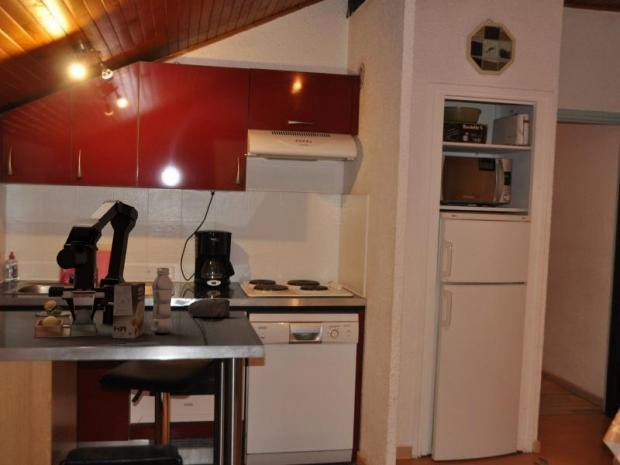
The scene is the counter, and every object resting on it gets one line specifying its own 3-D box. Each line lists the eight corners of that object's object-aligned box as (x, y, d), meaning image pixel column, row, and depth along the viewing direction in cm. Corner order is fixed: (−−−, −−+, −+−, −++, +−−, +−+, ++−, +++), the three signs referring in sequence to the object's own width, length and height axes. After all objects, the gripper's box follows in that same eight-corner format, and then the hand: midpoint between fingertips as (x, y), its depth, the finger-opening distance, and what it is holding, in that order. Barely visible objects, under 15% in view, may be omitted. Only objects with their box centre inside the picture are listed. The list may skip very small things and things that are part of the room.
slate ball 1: (91, 322, 173) (91, 307, 173) (91, 325, 169) (91, 309, 169) (75, 322, 171) (75, 307, 171) (74, 325, 167) (75, 310, 167)
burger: (69, 320, 197) (69, 298, 197) (31, 321, 194) (32, 298, 194) (74, 315, 209) (75, 294, 209) (39, 315, 206) (39, 294, 206)
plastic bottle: (153, 335, 175) (155, 269, 175) (148, 331, 181) (150, 267, 181) (174, 334, 178) (176, 269, 178) (168, 330, 184) (170, 267, 184)
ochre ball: (58, 329, 175) (59, 314, 174) (57, 332, 170) (58, 317, 170) (42, 330, 173) (42, 315, 173) (41, 332, 169) (41, 317, 169)
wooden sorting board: (94, 326, 187) (95, 314, 187) (95, 338, 168) (96, 324, 168) (39, 328, 181) (40, 315, 181) (34, 340, 162) (34, 326, 162)
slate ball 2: (90, 328, 178) (91, 314, 178) (90, 331, 174) (91, 316, 174) (75, 329, 176) (75, 314, 176) (74, 331, 172) (75, 316, 172)
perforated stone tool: (186, 318, 210) (187, 298, 209) (188, 315, 215) (189, 297, 215) (228, 319, 210) (229, 300, 210) (229, 317, 215) (230, 298, 215)
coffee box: (134, 342, 166) (135, 285, 165) (111, 341, 166) (113, 284, 166) (144, 335, 175) (145, 282, 175) (123, 335, 175) (124, 281, 175)
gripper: (117, 265, 181) (115, 315, 181) (51, 264, 174) (49, 316, 174) (119, 268, 170) (117, 321, 170) (49, 267, 163) (47, 323, 164)
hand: (83, 320), depth 170 cm, fingers closed on slate ball 1, 4 cm apart
